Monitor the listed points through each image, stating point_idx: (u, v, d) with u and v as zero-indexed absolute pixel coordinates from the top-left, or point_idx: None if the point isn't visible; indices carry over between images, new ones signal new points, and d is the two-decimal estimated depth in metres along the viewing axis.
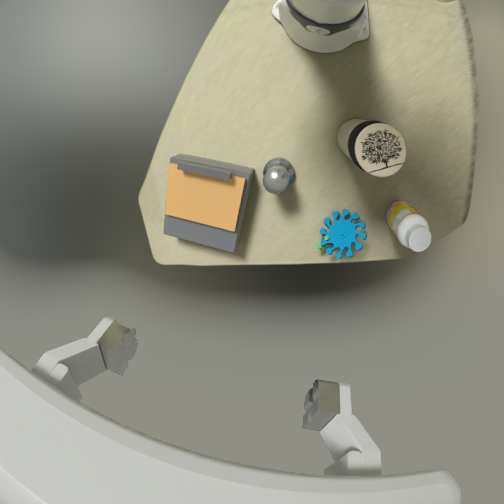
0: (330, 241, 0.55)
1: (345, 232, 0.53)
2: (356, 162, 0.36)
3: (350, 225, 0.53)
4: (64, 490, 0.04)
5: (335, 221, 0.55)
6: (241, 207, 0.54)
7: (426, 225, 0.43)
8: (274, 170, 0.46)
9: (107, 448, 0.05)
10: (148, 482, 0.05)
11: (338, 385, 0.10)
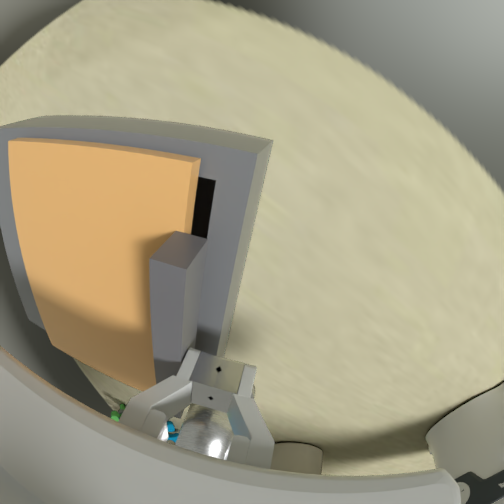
0: None
1: None
2: None
3: None
4: (64, 490, 0.04)
5: None
6: None
7: None
8: None
9: (107, 448, 0.05)
10: (148, 482, 0.05)
11: (242, 365, 0.10)
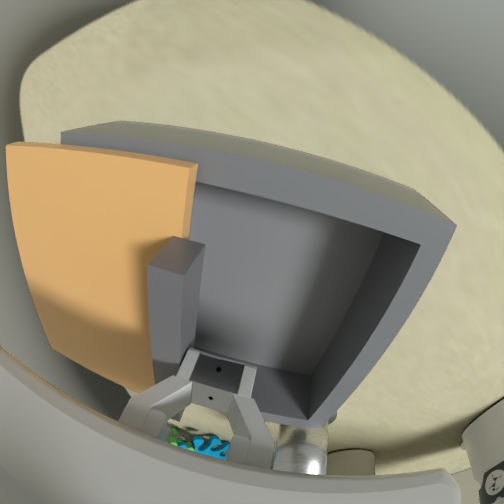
0: None
1: None
2: None
3: None
4: (64, 490, 0.04)
5: (217, 452, 0.29)
6: None
7: None
8: None
9: (107, 448, 0.05)
10: (148, 482, 0.05)
11: (242, 365, 0.10)
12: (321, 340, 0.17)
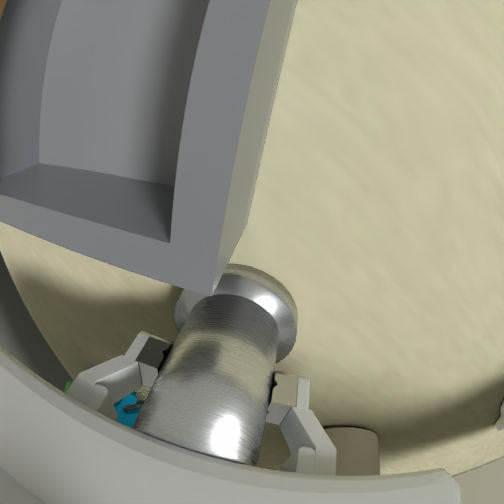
0: None
1: None
2: None
3: None
4: (64, 490, 0.04)
5: (133, 416, 0.20)
6: (34, 230, 0.08)
7: None
8: None
9: (107, 448, 0.05)
10: (148, 482, 0.05)
11: (296, 378, 0.10)
12: None
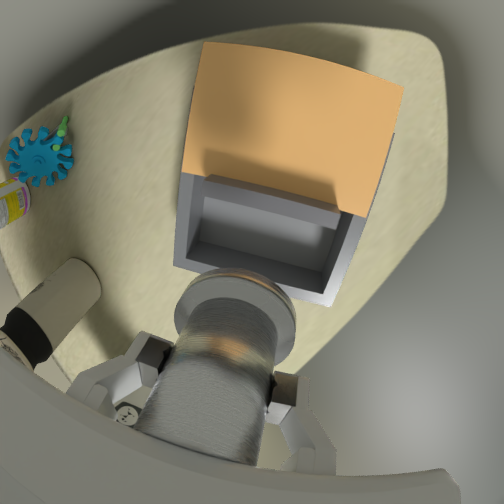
0: (47, 146, 0.24)
1: (34, 164, 0.25)
2: (26, 331, 0.23)
3: (34, 173, 0.27)
4: (64, 490, 0.04)
5: (56, 169, 0.28)
6: (180, 201, 0.24)
7: None
8: None
9: (107, 448, 0.05)
10: (148, 482, 0.05)
11: (296, 378, 0.10)
12: (235, 244, 0.29)
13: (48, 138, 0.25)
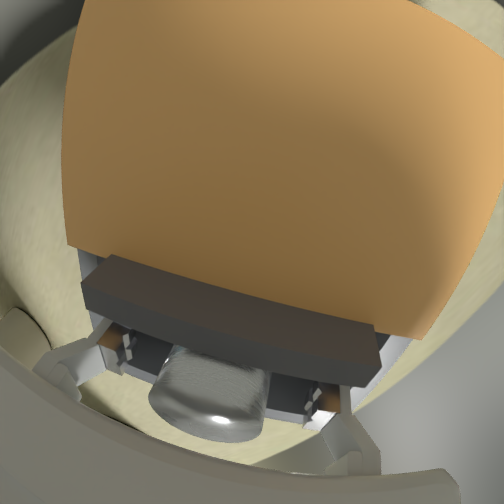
0: None
1: None
2: None
3: None
4: (64, 490, 0.04)
5: None
6: None
7: None
8: (255, 425, 0.09)
9: (107, 448, 0.05)
10: (148, 482, 0.05)
11: (338, 385, 0.10)
12: None
13: None
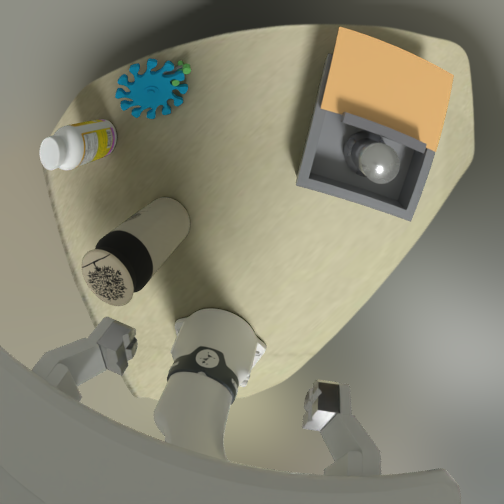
0: (168, 79, 0.30)
1: (145, 94, 0.31)
2: (132, 250, 0.29)
3: (140, 102, 0.32)
4: (64, 490, 0.04)
5: (164, 103, 0.33)
6: (311, 132, 0.30)
7: None
8: (398, 164, 0.26)
9: (107, 448, 0.05)
10: (148, 482, 0.05)
11: (338, 385, 0.10)
12: (337, 175, 0.35)
13: (165, 74, 0.31)
